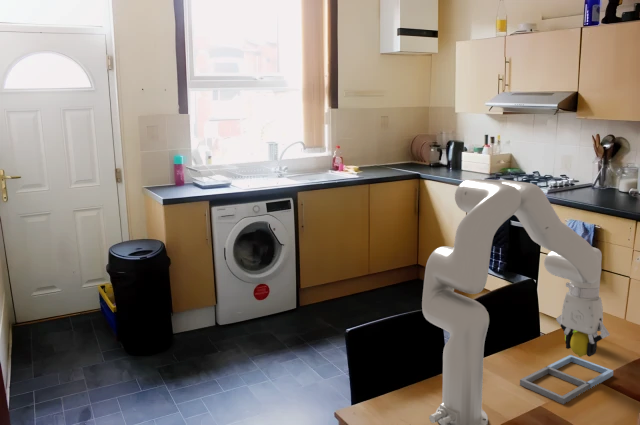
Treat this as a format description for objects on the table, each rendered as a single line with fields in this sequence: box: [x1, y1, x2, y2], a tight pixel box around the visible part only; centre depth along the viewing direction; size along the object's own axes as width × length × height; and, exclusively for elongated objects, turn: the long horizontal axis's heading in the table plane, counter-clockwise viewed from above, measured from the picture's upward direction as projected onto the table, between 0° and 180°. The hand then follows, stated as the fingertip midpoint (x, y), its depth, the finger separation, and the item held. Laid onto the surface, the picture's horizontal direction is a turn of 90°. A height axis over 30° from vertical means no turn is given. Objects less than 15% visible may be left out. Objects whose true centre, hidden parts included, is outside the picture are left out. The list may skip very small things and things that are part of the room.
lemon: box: [570, 331, 590, 358], centre depth 158 cm, size 6×6×8 cm
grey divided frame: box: [519, 354, 614, 405], centre depth 156 cm, size 25×13×2 cm, turn 126°
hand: (580, 350), depth 158 cm, fingers closed on lemon, 5 cm apart
